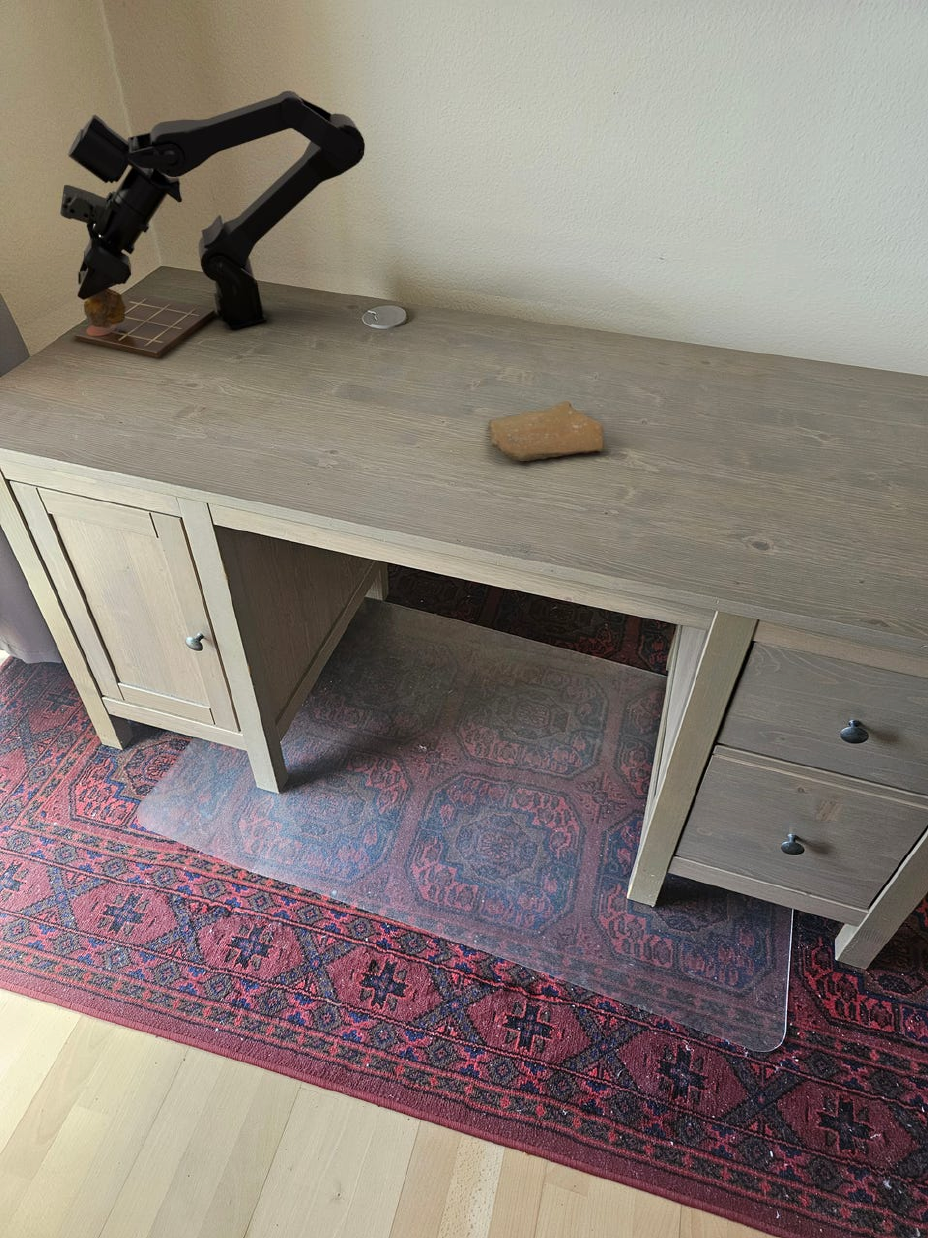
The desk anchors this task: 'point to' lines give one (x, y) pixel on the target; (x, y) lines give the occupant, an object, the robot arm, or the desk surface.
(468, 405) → the desk surface
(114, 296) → the rock
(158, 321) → the board
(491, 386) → the desk surface
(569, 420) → the stone
